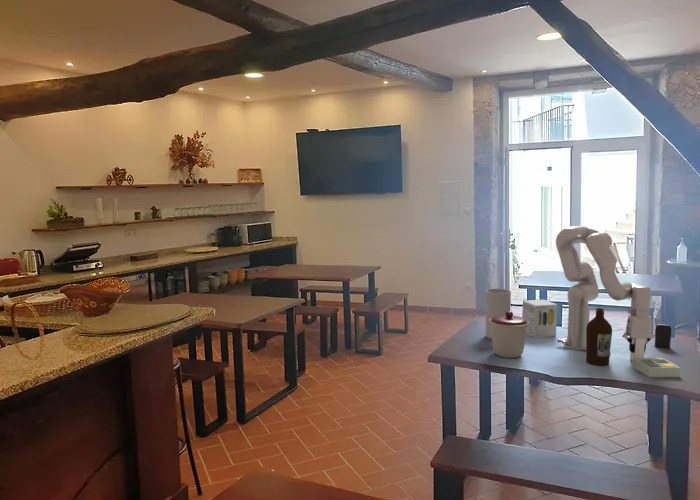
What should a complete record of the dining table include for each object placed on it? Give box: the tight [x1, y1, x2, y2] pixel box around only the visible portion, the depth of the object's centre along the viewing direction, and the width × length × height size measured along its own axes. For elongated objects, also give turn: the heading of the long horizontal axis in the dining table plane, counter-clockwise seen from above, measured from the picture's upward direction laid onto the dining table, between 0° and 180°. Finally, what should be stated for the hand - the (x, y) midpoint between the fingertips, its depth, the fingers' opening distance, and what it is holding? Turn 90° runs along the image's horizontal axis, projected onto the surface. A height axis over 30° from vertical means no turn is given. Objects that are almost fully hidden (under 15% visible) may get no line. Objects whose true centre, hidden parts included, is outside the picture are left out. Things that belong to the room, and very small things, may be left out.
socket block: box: [632, 357, 681, 378], centre depth 230 cm, size 13×13×4 cm
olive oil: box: [585, 307, 613, 367], centre depth 241 cm, size 11×11×25 cm
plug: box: [629, 338, 645, 362], centre depth 244 cm, size 4×4×14 cm
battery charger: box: [654, 323, 673, 349], centre depth 266 cm, size 7×4×11 cm, turn 62°
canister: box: [489, 310, 529, 359], centre depth 253 cm, size 18×18×21 cm
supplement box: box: [521, 299, 558, 339], centre depth 289 cm, size 13×13×18 cm
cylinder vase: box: [484, 288, 512, 340], centre depth 283 cm, size 12×12×25 cm
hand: (637, 351), depth 244 cm, fingers closed on plug, 4 cm apart
